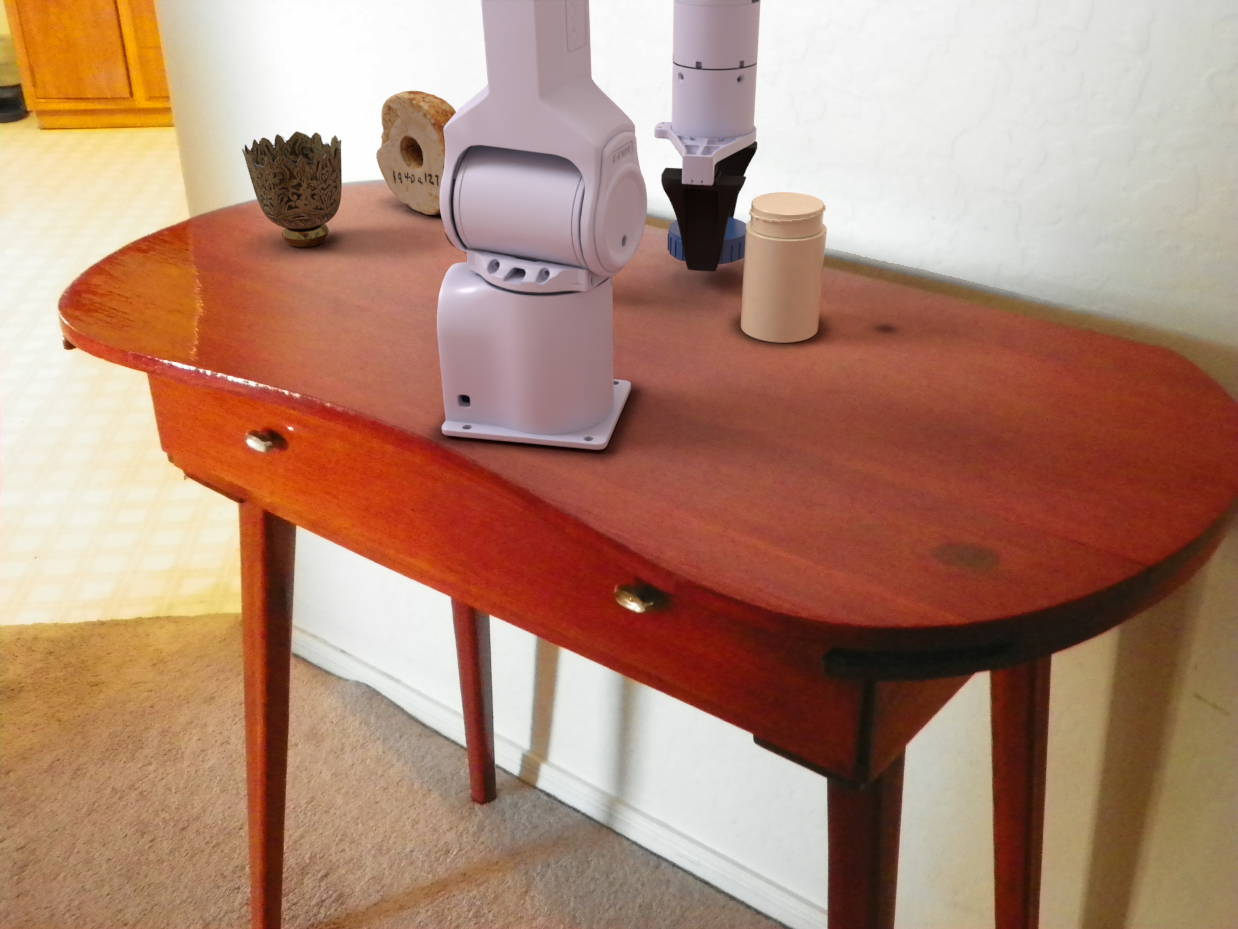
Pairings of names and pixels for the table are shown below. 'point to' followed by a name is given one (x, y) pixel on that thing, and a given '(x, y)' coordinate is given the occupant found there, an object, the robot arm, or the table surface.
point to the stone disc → (414, 148)
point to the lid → (731, 246)
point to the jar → (783, 267)
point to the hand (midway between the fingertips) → (708, 253)
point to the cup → (297, 184)
